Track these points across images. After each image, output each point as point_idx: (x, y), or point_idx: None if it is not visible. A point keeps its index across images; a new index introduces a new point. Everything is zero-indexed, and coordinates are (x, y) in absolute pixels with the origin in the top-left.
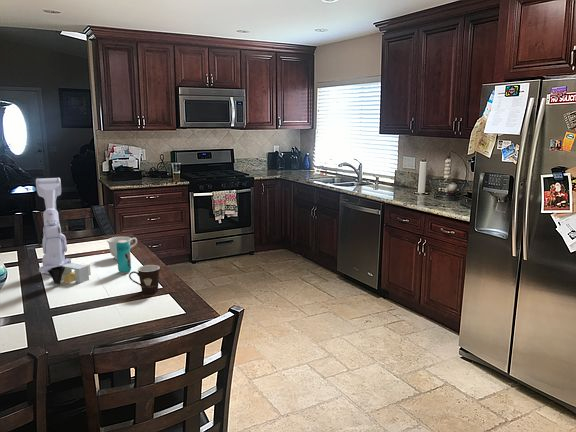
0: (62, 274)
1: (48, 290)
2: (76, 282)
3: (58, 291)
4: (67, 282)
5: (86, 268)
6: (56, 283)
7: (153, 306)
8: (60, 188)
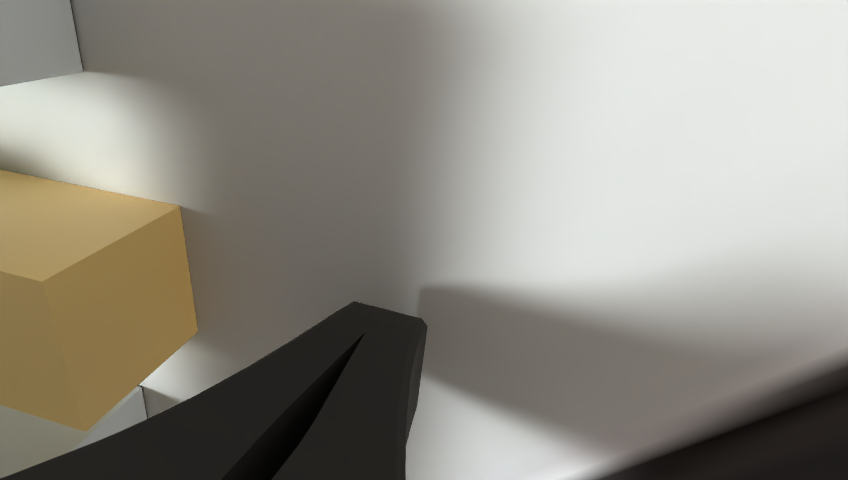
0: None
1: (722, 361)
2: (77, 51)
3: (790, 49)
4: (180, 244)
5: None
6: (417, 369)
7: None
8: None
